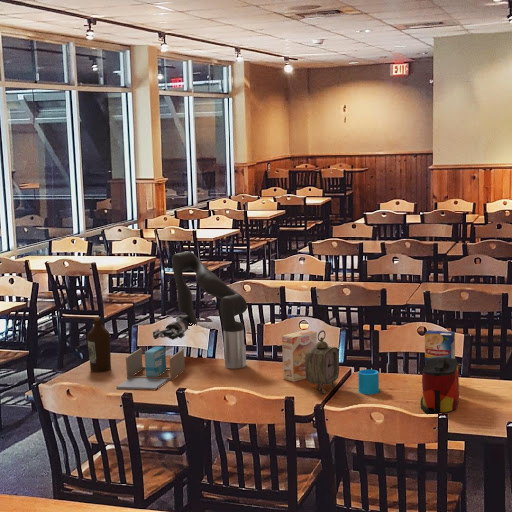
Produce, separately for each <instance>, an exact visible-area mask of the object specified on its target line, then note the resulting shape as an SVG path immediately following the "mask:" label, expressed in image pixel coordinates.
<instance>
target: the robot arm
mask: <svg viewBox="0 0 512 512" xmlns="http://www.w3.org/2000/svg"><path fill="white" fill-rule="evenodd" d="M171 265H172V266H171V267H172V272H173V276H174V281H175V286H176V291H177V304H178V305H177V306H178V310H179V312H182V313H185V314H180V315H177V316H176V320H174V321H172V322H171V323H169V324H167V325H166V327H165V329H159V328H158V329H156V330H154V331H152V338H153V339H154V340H157V339H158V338H162V339H163V338H168V339H170V340H172V341H174V340H176V339H182V338H183V337H184V336H185V333H186V332H187V330H189V329H188V326H192V325H193V324H194V325H195V324H196V327H197V326H198V320H197V317H196V314H195V311H194V310H195V309H194V307H193V306H194V304H193V294H192V291H191V289H190V287H189V286H188V285H187V282H186V281H185V280H184V276H183V275H184V274H183V272H186V271H193V272H194V273H195V274H196V284H197V285H198V287H199V288H200V289H201V290H203V292H204V293H206V294H208V295H210V296H212V297H215V298H218V299H220V303H219V304H220V305H219V307H220V308H219V309H220V317H221V324H222V328H223V347H224V349H223V350H224V366H225V368H227V369H234V370H235V369H244V368H245V367H246V366H247V350H246V348H247V347H246V344H245V332H244V330H245V329H244V323H243V322H240V321H237V320H236V319H235V318H236V317H235V316H238V315H242V314H244V313H245V312H246V311H247V310H248V304H247V300H246V299H245V297H244V296H243V295H242V294H240V293H239V292H238V291H236V290H234V289H233V288H231V287H230V286H228V285H227V284H226V283H225V282H224V281H222V279H220V278H219V276H217V274H215V273H213V272H212V271H211V269H209V268H208V267H207V266H205V264H204V263H203V262H202V260H200V259H199V257H197V255H196V254H194V252H193V251H189V250H188V251H183V252H178V253H174V254H173V255H172V258H171ZM189 323H190V324H191V323H192V324H191V325H190V324H189Z"/></svg>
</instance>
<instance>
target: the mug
mask: <svg viewBox="0 0 512 512" xmlns="http://www.w3.org/2000/svg"><path fill="white" fill-rule="evenodd" d="M357 373H358V376H357V377H358V393H359V394H361V395H362V394H363V395H376V394H379V393H380V388H379V387H380V384H379V383H380V379H379V371H378V370H376V369H361V370H359V371H357Z"/></svg>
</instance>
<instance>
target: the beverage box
mask: <svg viewBox="0 0 512 512" xmlns="http://www.w3.org/2000/svg"><path fill="white" fill-rule="evenodd" d="M436 357H446V358H453V359H456V332H455V331H450V330H433V329H432V330H431V329H428V330H427V331H425V333H424V365H425V364H426V362H427V360H428V359H430V358H436Z"/></svg>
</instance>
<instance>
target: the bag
mask: <svg viewBox="0 0 512 512" xmlns="http://www.w3.org/2000/svg"><path fill="white" fill-rule="evenodd" d="M459 375H460V373H459V362H458V360H457V359H456V358H455V359H453V358H446V357H436V358H430V359H428V360H427V362H426V364H425V363H424V366H423V368H422V373H421V384H422V385H421V387H422V396H421V398H420V409H421V410H422V411H423V413H425V414H426V415H428V414H434V415H435V414H449V413H453V412H455V411H456V410H457V407H458V405H459V398H460V387H459V386H460V381H459V379H460V378H459Z"/></svg>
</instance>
